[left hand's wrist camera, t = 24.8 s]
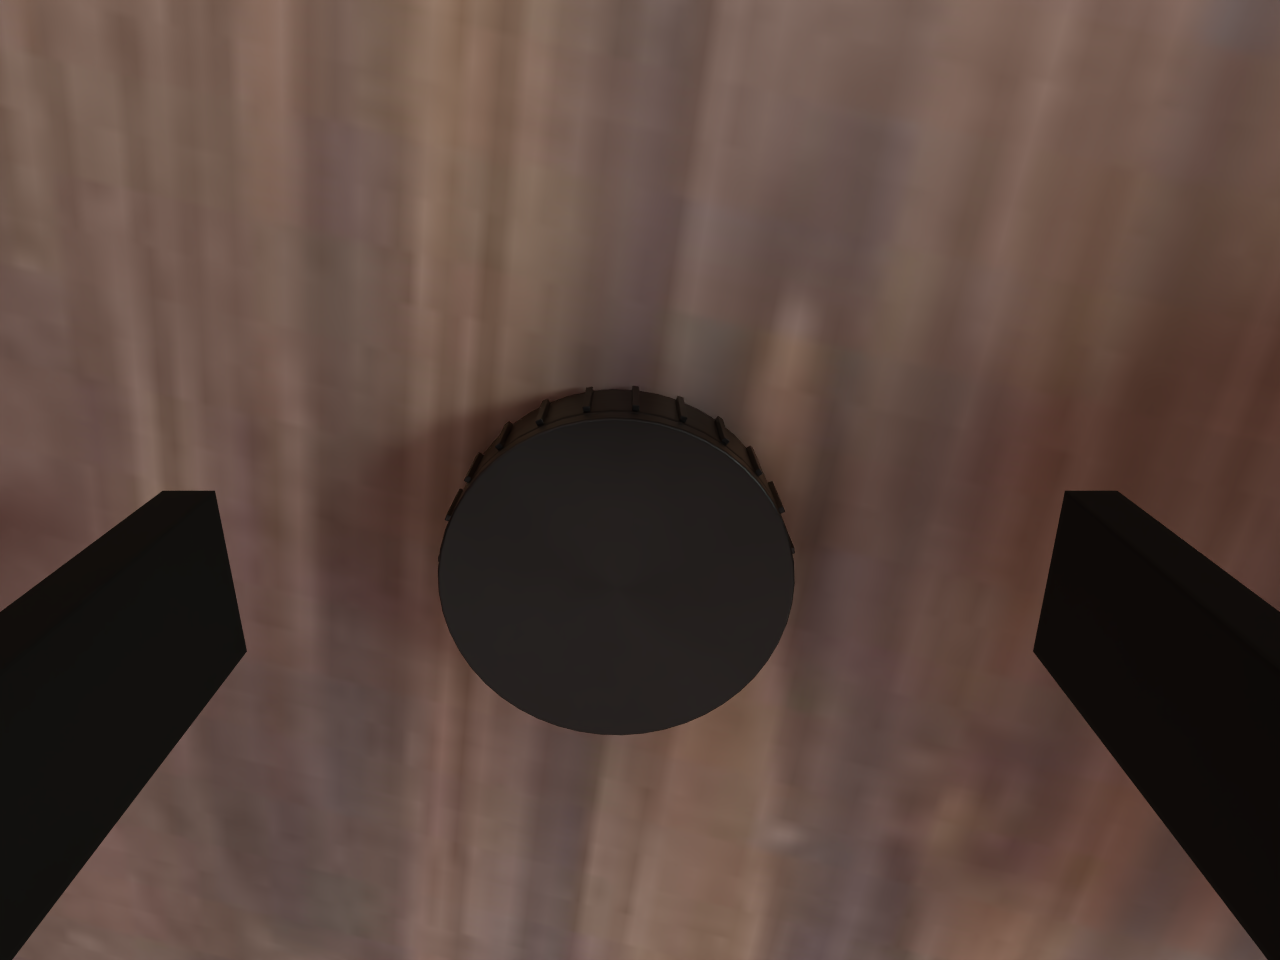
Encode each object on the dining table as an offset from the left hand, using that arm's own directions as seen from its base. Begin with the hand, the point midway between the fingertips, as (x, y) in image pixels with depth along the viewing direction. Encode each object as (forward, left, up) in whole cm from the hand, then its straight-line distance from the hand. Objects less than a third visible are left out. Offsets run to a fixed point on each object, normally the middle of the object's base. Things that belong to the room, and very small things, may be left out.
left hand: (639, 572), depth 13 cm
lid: (0, -1, -1) cm, 1 cm away
